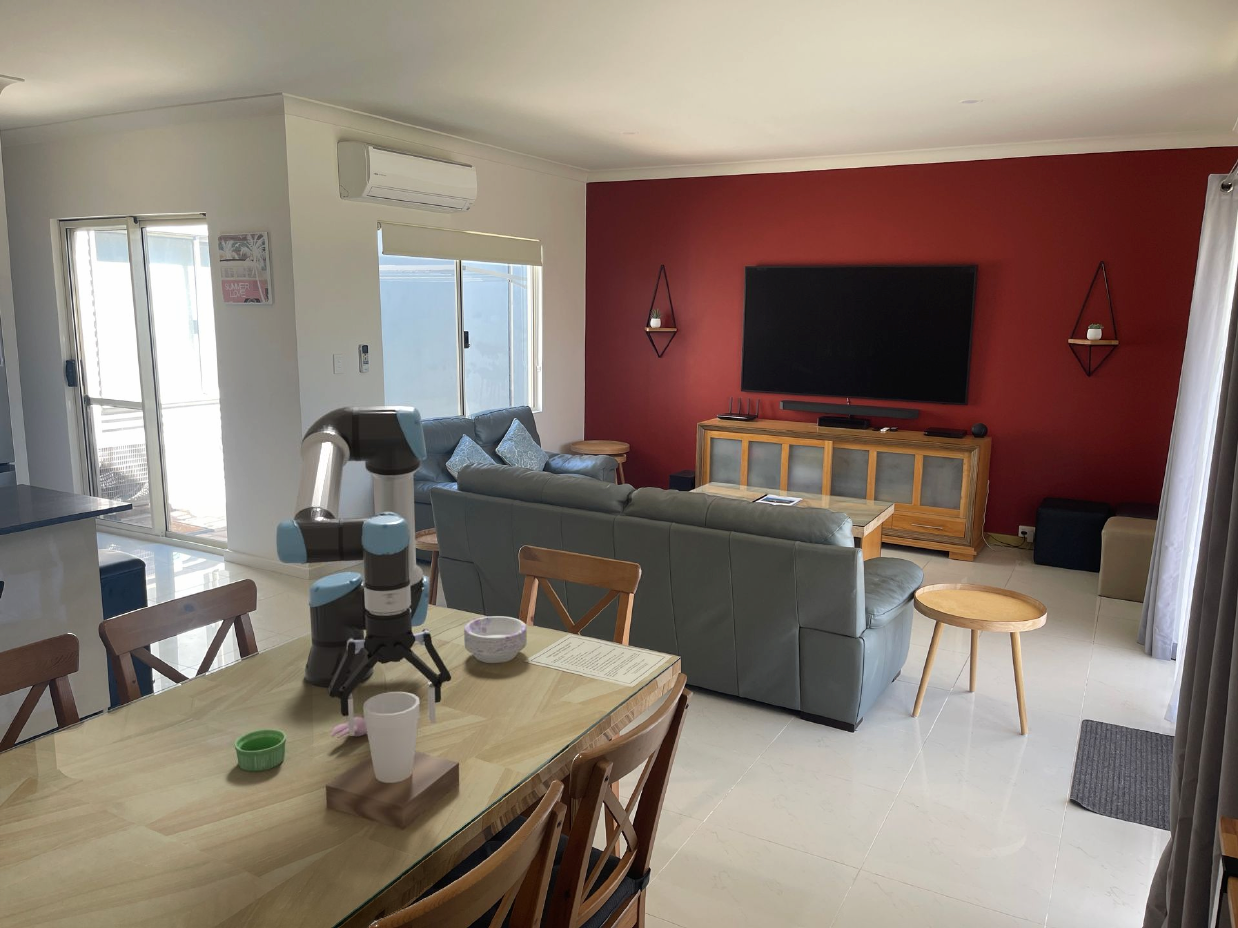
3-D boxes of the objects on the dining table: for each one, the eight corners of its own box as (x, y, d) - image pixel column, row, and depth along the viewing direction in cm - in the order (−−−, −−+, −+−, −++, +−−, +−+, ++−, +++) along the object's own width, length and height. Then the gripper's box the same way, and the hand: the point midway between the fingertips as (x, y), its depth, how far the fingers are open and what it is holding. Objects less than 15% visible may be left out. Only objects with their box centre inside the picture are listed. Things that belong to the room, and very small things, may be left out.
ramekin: (297, 754, 168) (296, 733, 167) (264, 777, 160) (262, 754, 159) (259, 746, 171) (258, 725, 170) (224, 768, 162) (223, 746, 162)
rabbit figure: (372, 722, 184) (321, 742, 170) (375, 694, 184) (323, 711, 170) (396, 728, 182) (346, 748, 168) (399, 700, 181) (349, 718, 168)
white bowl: (522, 668, 209) (522, 637, 208) (459, 668, 210) (458, 636, 208) (530, 645, 224) (530, 615, 223) (470, 644, 225) (470, 614, 223)
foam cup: (407, 790, 148) (404, 717, 146) (356, 784, 150) (353, 712, 148) (430, 762, 157) (428, 694, 155) (381, 757, 159) (379, 689, 157)
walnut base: (326, 806, 150) (325, 784, 149) (387, 763, 164) (386, 743, 164) (403, 829, 144) (402, 806, 143) (459, 782, 158) (458, 762, 157)
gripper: (310, 624, 141) (317, 747, 144) (466, 607, 149) (468, 723, 153) (309, 609, 147) (315, 727, 151) (457, 593, 156) (460, 705, 160)
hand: (392, 725), depth 152 cm, fingers open, 13 cm apart
